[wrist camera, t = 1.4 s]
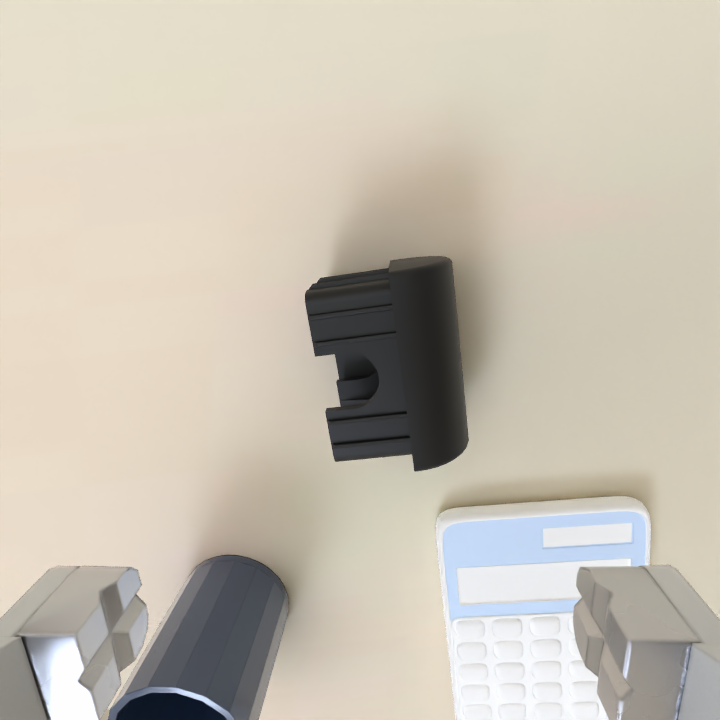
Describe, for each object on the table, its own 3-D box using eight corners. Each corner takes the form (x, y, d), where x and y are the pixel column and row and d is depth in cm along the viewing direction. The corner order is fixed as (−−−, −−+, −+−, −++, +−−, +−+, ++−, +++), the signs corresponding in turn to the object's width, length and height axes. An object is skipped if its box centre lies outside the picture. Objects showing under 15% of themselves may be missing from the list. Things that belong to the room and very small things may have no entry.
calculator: (455, 723, 37) (458, 749, 35) (432, 505, 31) (434, 522, 30) (633, 719, 35) (646, 746, 34) (642, 489, 30) (657, 507, 28)
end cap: (460, 412, 29) (477, 468, 23) (348, 424, 30) (335, 481, 24) (444, 251, 26) (459, 262, 20) (322, 268, 27) (298, 285, 21)
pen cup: (281, 553, 34) (234, 687, 24) (295, 640, 36) (257, 793, 26) (176, 555, 34) (91, 686, 25) (196, 640, 37) (125, 789, 27)
